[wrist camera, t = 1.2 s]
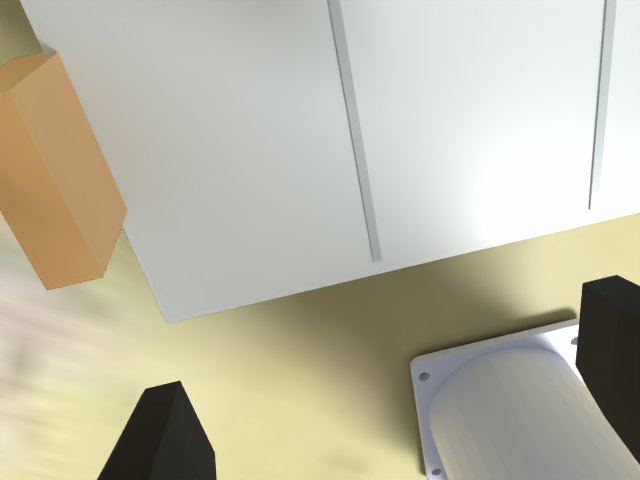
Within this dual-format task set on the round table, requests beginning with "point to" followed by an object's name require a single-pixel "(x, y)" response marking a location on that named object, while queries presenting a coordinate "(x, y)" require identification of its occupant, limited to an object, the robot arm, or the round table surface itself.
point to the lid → (311, 136)
